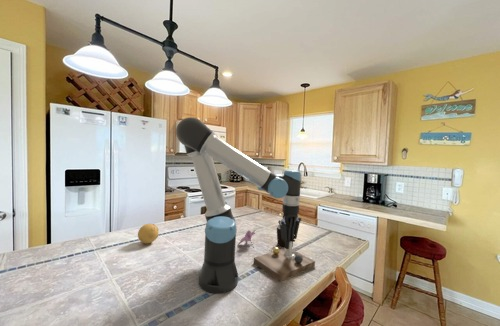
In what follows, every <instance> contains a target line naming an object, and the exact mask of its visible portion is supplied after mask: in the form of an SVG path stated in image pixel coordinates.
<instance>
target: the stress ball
mask: <svg viewBox="0 0 500 326" xmlns="http://www.w3.org/2000/svg"><path fill="white" fill-rule="evenodd" d="M159 233H160V232H159V228H158V226H157V225H156V224H155V223H146V224H144V225H142V226H141V227H140V228H139V229H138V231H137V238H138V240H139V241H140V242H141V243H142V244H146V245H149V244H151V243H153V242H155V241H156V239H158V237H159V235H160V234H159Z"/></svg>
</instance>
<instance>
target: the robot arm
mask: <svg viewBox="0 0 500 326" xmlns="http://www.w3.org/2000/svg"><path fill="white" fill-rule="evenodd" d="M175 135H176V138H177V140H178V141H179V143H181V144H182V145H183V146H184V149H185V153H186V156H188V157H189V158H191V160H192V164H193V166H194V170H195V173H196V177H197V181H198V184H199V187H200V190H201V194H202V198H203V200H204V205H205V208H206V211H205V213H204V217H205V221H206V223H205V227H204V235H205V236H204V238H205V239H204V254H203V255H204V257H203V258H204V259H203V262H202V266H201V269H200V271H199V274H198V283H197V284H198V286H199V288H200V289H201V290H203V291H205V292H207V293H211V294H222V293H227V292H230V291H231V290H233V289H235V288H236V287H237V285H238V283H239V273H238V268H237V265H236V261H235V259H236V258H235V257H236V239H237V238H236V237H237V231H238V230H237V229H238V228H237V222H236V219H235V217H234V215H233V213H232V209H231V206H230V205H228V204H227V203H226V201H225V200H226V199H225V196H224V194H223V191H222V189H223V188H222V186H221V183H220V179H219V175H218V172H217V170H216V165H215V161H217V162H218V163H220V164H222V165H223V166H225V167H226V168H228V169H229V170H231V171H233V172H235V173H236V174H237V175H239V176H241V177H242V178H244V179H246V180H247V181H249V182H250V183H252V184H254V185H255V186H257V190H259V191H264V192H266V193H267V194H269V195H270V196H271V197H272V198H275V199H281V198H282V203H283V204H282V208H281V210H282V211H281V212H282V213H283V216H282V219H281V220H278V222H277V223H278V225H280V230H281V238H282V240H283V241H285V247H284V248H285V254H286V255H287V256H289V257H290V256H292V250H293V246H294V243H295V242H296V240H297V237H298V234H299V233H298V231H299V228H300V223H301V221H302V217H299V213H300V199H301V198H300V197H301V183H302V173H301V171H300V170H297V169H296V170H293V169H287V170H286V169H285V170H284V172H283V173H281V174H276V173H273V172H272V171H270V170H269V169H267V168H266V167H265V166H263V165H261V164H260V163H258V162H257V161H255V160H253V158H250V157H249V156H248V155H245V154H244V153H242V152H241V151H240V150H238V149H236V148H235V147H233V146H232V145H230V144H229V143H227V142H226V141H224V140H223V139H221V138H219V137H218V136H216V133H215V131H214V130H212V129H210V127H208V126H207V125H206V124H205V123H204V122H203V121H202V120H201V119H198V118H196V117H184V118H183V119H181V120H180V121H179V123H177V125H176V130H175ZM214 160H215V161H214Z"/></svg>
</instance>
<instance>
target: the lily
mask: <svg viewBox="0 0 500 326" xmlns="http://www.w3.org/2000/svg"><path fill="white" fill-rule="evenodd" d="M256 231H257V229H256V228H255V230H253V231H251V230H247V231H246V233H245V234H244V237H243V238H241V239H239V242H238V244H237V246H239V245H240V244H242V243H243V242H246V243H247V242H250V243H251V245H252V248H253V249H254V248H255V247H254V244H253V242H252V236H253V235H256Z"/></svg>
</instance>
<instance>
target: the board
mask: <svg viewBox="0 0 500 326" xmlns="http://www.w3.org/2000/svg"><path fill="white" fill-rule="evenodd" d="M279 250H280V253H279V254H278V255H275V254H274V253H273V251H271V252H267V253H265V254H261V255H257V256H256V257H255V256H254V257H253V264H255V266H257V267H259V268H260V269H261V270H263V271H264V272H265V273H266V274H268V275H270V276H271V277H272V278H274V279H275V280H276V281H278V282H279V283H281V282H284V281H286V280H289V279H290V278H292V277H293V278H294V277H295V276H297V275H299V274H302V273H304V272H306V271H308V270H310V269H313V268H315V267H316V260H313V259H311V258H310V257H308V256H305V254H304V255H303V254H302V253H299V252H298V251H296V250H294V249H292V254H294V255H295V256H296V255H300V256H301V257H302V262H301V263H296V262H295V259H293V258H290V257H289V256H287V255H286V254H285V247H282V248H279Z"/></svg>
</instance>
